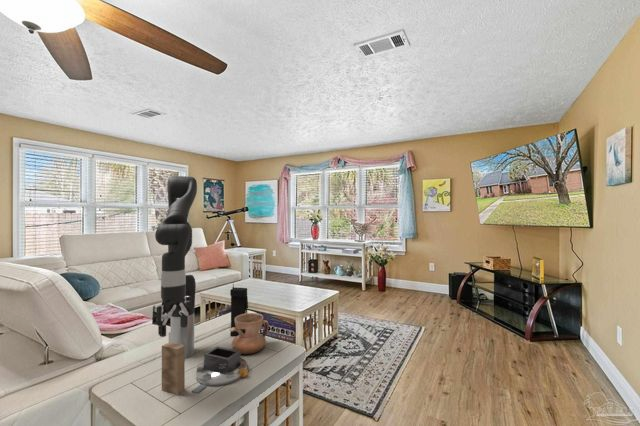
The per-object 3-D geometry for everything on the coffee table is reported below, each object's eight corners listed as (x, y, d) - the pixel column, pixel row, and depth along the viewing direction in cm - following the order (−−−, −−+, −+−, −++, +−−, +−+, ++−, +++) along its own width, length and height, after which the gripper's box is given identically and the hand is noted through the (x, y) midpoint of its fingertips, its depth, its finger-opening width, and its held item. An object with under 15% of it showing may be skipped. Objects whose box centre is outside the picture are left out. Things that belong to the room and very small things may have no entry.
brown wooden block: (161, 390, 100) (161, 345, 100) (169, 385, 103) (169, 342, 103) (177, 395, 98) (177, 349, 98) (184, 390, 101) (184, 345, 101)
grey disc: (184, 379, 106) (185, 359, 106) (219, 357, 123) (219, 339, 123) (229, 391, 99) (229, 369, 99) (259, 366, 116) (259, 347, 116)
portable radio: (250, 332, 149) (250, 282, 149) (244, 337, 143) (244, 285, 143) (235, 331, 151) (235, 281, 151) (229, 336, 145) (229, 284, 145)
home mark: (192, 392, 99) (192, 390, 99) (201, 385, 103) (201, 384, 103) (197, 393, 98) (197, 392, 98) (206, 387, 102) (206, 385, 102)
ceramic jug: (236, 362, 120) (236, 326, 120) (224, 349, 131) (224, 316, 131) (276, 350, 130) (276, 317, 131) (261, 338, 142) (261, 308, 142)
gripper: (181, 278, 109) (182, 323, 109) (146, 287, 96) (146, 338, 95) (198, 279, 106) (198, 325, 106) (163, 289, 93) (163, 341, 93)
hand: (173, 331), depth 101 cm, fingers open, 8 cm apart
